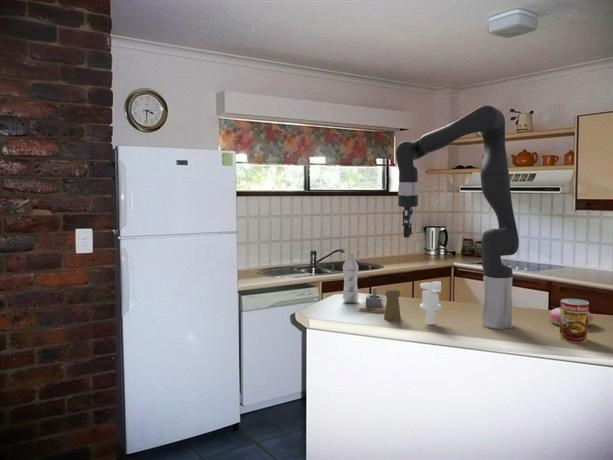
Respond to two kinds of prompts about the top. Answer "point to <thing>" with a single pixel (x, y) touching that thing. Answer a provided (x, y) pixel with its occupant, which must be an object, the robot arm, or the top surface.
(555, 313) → the donut
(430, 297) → the strainer
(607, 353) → the top surface
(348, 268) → the plastic bottle
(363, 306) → the toggle switch
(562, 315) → the canned food
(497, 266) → the robot arm
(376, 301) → the grey hollow square block
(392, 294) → the cork
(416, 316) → the top surface
